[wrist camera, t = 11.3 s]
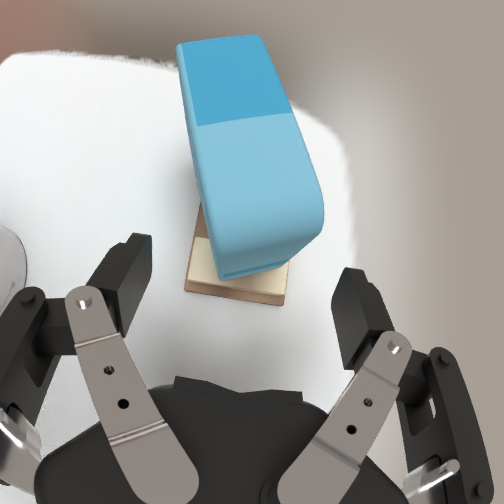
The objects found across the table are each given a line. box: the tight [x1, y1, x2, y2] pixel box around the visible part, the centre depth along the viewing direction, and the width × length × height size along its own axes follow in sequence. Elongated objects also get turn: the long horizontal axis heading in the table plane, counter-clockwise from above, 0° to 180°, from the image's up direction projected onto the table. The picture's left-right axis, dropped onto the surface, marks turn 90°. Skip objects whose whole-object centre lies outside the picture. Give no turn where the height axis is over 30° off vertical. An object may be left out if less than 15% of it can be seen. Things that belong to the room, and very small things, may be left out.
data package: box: [176, 35, 324, 281], centre depth 18 cm, size 12×4×12 cm, turn 14°
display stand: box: [184, 203, 289, 306], centre depth 25 cm, size 8×13×3 cm, turn 172°
